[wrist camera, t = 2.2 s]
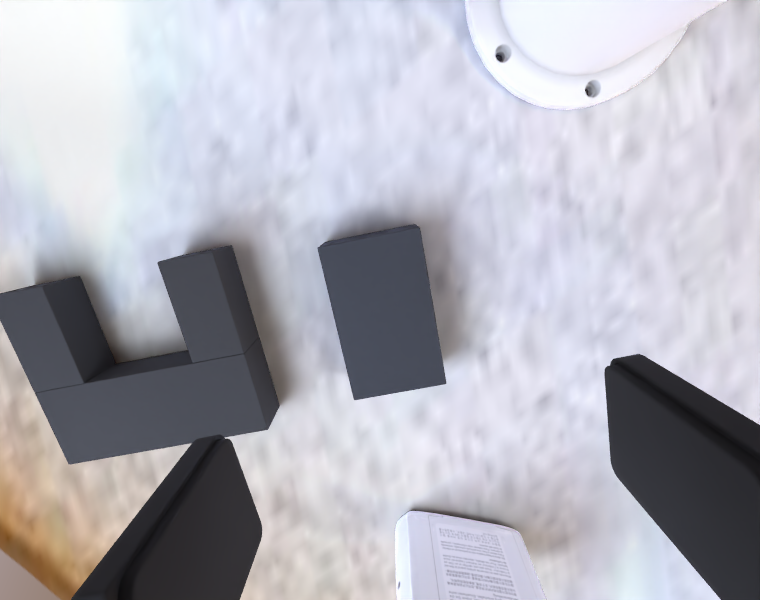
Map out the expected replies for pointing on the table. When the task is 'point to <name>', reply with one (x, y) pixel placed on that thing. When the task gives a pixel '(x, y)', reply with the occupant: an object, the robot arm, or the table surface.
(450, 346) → the table surface
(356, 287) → the pad
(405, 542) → the photo printer
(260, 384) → the base pad
